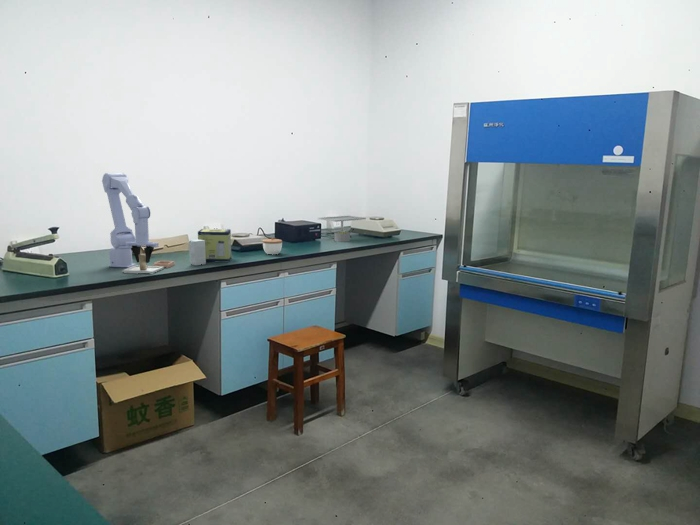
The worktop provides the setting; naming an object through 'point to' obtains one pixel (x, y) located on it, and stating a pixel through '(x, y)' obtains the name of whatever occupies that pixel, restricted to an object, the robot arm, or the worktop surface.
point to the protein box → (216, 244)
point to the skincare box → (197, 252)
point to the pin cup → (164, 263)
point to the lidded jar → (272, 246)
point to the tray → (137, 270)
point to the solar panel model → (342, 235)
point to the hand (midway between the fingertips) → (143, 262)
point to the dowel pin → (142, 262)
